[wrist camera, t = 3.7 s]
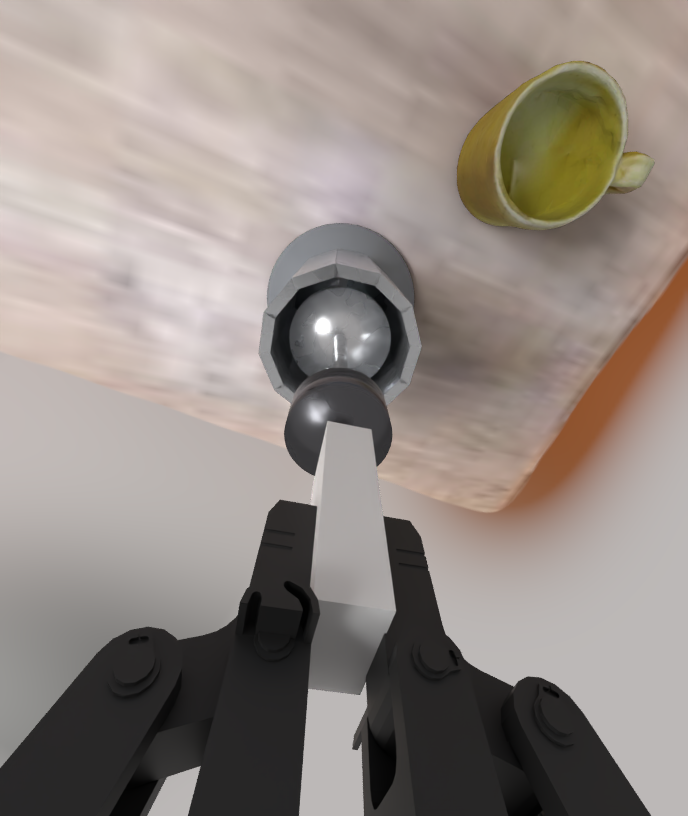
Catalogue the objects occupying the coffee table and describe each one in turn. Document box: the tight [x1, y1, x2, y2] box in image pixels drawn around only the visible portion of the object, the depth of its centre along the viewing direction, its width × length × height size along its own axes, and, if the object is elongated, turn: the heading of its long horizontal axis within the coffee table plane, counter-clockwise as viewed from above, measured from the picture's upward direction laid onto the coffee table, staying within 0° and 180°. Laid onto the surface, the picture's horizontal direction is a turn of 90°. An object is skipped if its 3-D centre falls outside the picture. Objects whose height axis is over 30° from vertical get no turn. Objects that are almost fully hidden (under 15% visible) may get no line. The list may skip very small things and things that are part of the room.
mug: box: [457, 61, 654, 230], centre depth 28 cm, size 12×10×10 cm
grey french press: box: [259, 248, 422, 406], centre depth 30 cm, size 13×10×14 cm
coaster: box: [267, 223, 414, 309], centre depth 36 cm, size 14×14×1 cm
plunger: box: [284, 286, 392, 476], centre depth 20 cm, size 7×7×13 cm
